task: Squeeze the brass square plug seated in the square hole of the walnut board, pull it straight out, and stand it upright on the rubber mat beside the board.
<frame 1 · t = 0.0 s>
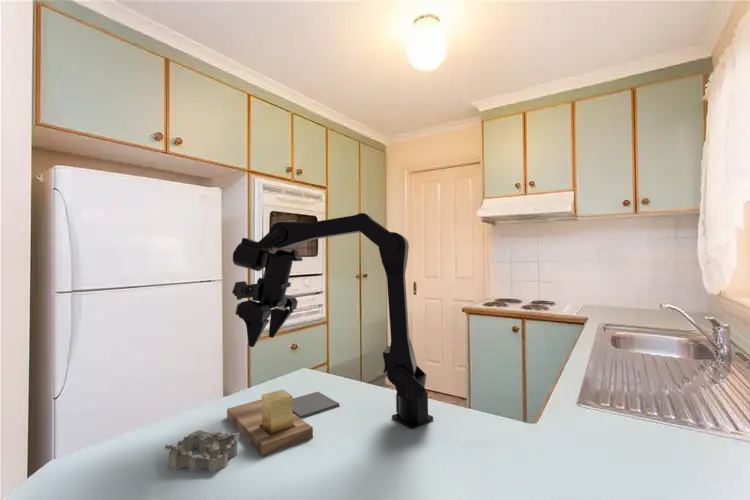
hand: (261, 341, 84), 15 cm above the countertop, tool pointing down, fingers open, 9 cm apart
walnut board: (267, 427, 74), on the countertop
brass plug: (277, 436, 70), resting in walnut board
egg carton: (204, 461, 63), on the countertop
rubber mat: (309, 405, 85), on the countertop
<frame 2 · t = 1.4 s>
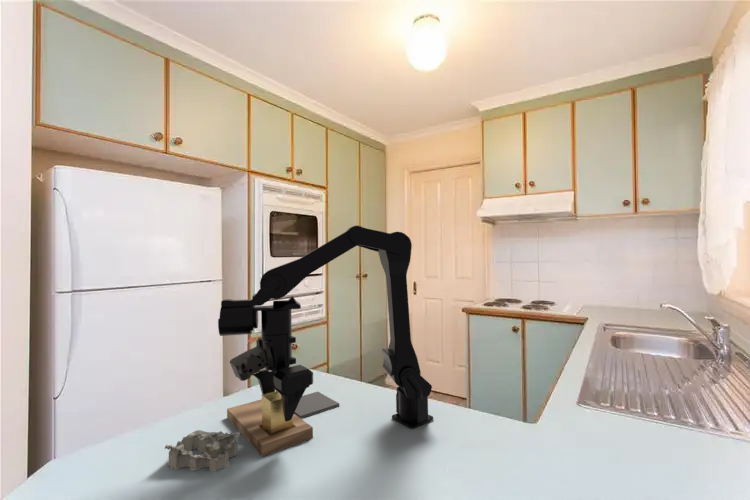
hand: (277, 412, 71), 5 cm above the countertop, tool pointing down, fingers open, 9 cm apart
nothing on the countertop moved.
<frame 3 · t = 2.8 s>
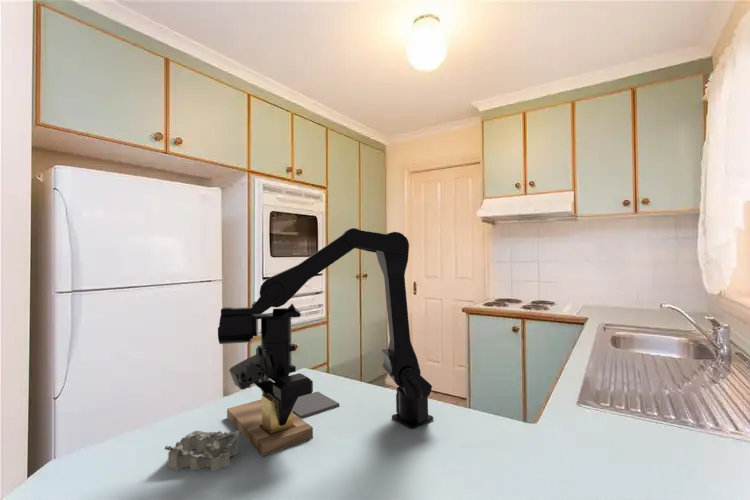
hand: (277, 420, 70), 3 cm above the countertop, tool pointing down, fingers closed on brass plug, 4 cm apart
brass plug: (277, 436, 70), resting in walnut board, touching gripper
everything else where it was.
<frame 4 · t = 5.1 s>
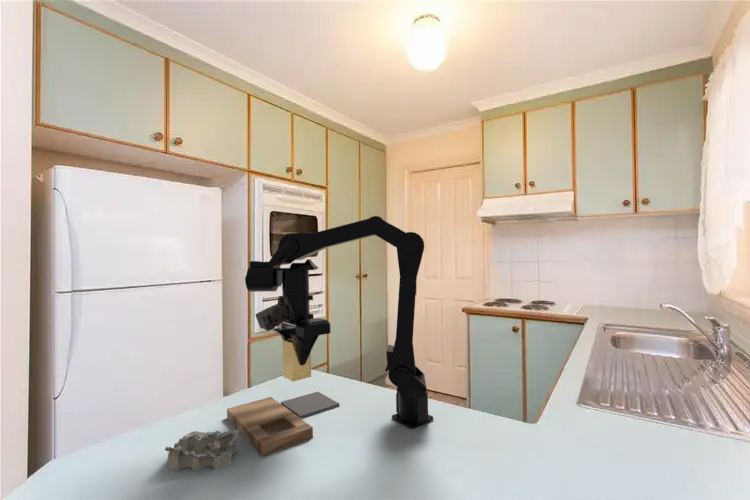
hand: (297, 362, 79), 12 cm above the countertop, tool pointing down, fingers closed on brass plug, 4 cm apart
brass plug: (297, 376, 79), point 9 cm above the countertop, touching gripper
everything else where it was.
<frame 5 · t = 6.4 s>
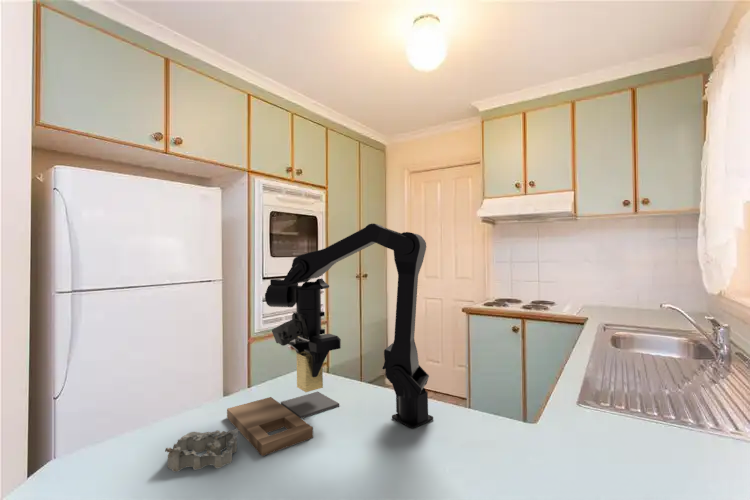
hand: (309, 374, 85), 7 cm above the countertop, tool pointing down, fingers closed on brass plug, 4 cm apart
brass plug: (309, 387, 85), point 4 cm above the countertop, touching gripper
everything else where it was.
when the fingers open (5 cm above the countertop, at t = 7.6 s): brass plug stays where it is, resting on rubber mat.
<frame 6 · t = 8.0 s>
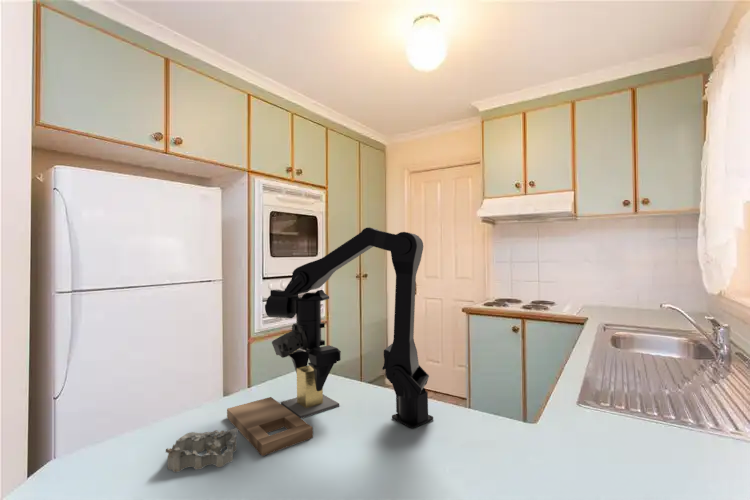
hand: (309, 385, 85), 5 cm above the countertop, tool pointing down, fingers open, 8 cm apart
brass plug: (309, 402, 85), point 1 cm above the countertop, touching rubber mat
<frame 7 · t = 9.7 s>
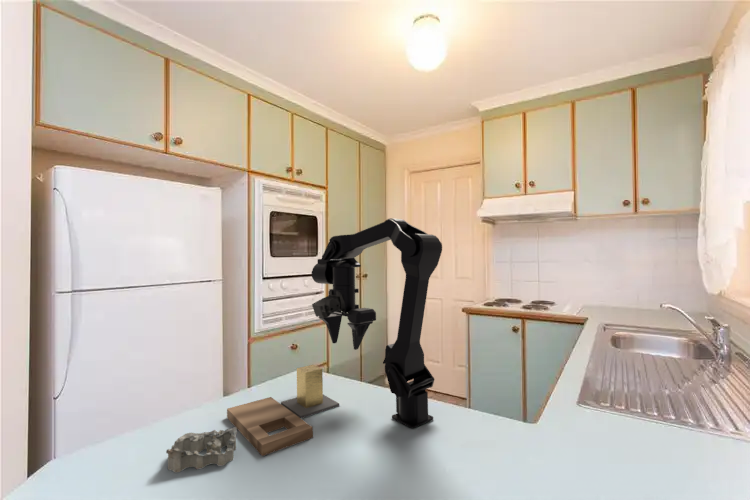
hand: (344, 346, 92), 12 cm above the countertop, tool pointing down, fingers open, 9 cm apart
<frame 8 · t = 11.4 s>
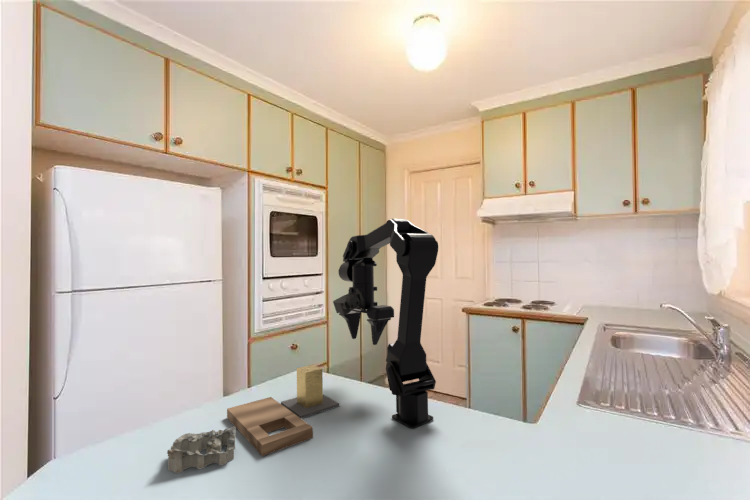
hand: (364, 341, 97), 12 cm above the countertop, tool pointing down, fingers open, 9 cm apart
at the end: brass plug 0.0 cm off-centre on the rubber mat, point 0.6 cm above the rubber mat's base; brass plug tilted 0°; the gripper is holding nothing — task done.
